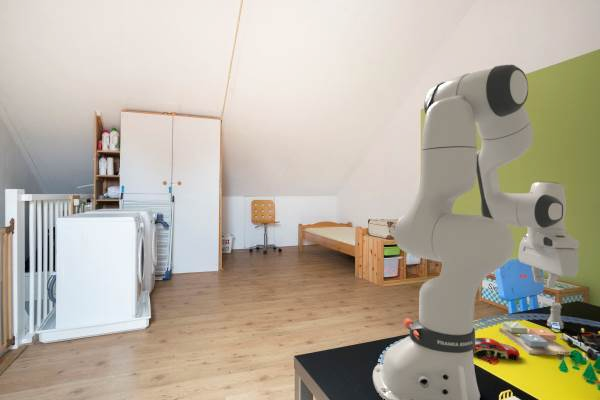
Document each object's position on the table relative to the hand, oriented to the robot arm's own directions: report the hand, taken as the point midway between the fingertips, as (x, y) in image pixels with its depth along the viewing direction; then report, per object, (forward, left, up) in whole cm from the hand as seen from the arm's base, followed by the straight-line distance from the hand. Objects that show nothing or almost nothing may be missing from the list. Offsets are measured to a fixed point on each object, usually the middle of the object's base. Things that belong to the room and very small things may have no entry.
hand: (544, 284), depth 96 cm
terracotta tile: (0, 0, -15) cm, 15 cm away
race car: (-19, -9, -18) cm, 27 cm away
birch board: (-3, 0, -17) cm, 17 cm away
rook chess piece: (+12, +12, -17) cm, 25 cm away
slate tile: (-5, -4, -15) cm, 17 cm away
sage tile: (-5, +5, -15) cm, 17 cm away
